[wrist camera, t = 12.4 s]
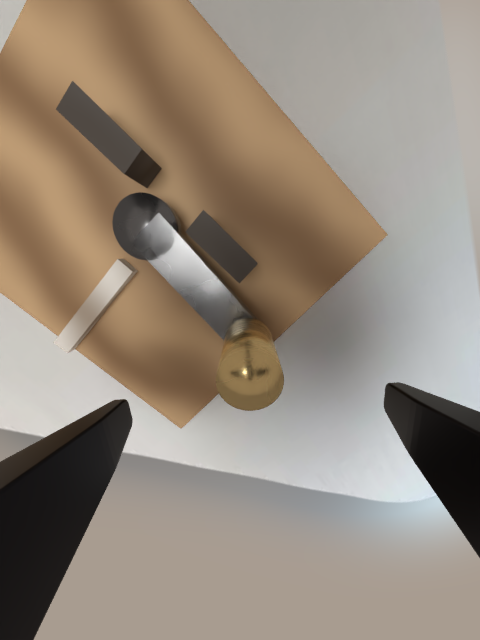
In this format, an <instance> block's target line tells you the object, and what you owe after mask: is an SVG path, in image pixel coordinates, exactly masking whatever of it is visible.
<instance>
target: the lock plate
mask: <svg viewBox="0 0 480 640" xmlns="http://www.w3.org/2000/svg"><path fill="white" fill-rule="evenodd" d="M138 192H143V193H149V194H152V195H154V196H156V197H158V198H160V199H161V200H163V201H165V202H166V203H168V204H169V205H170V206H171V207H172V208H173V209H174V211H175V212H176V214H177V215H178V218H179V220H180V224H181V233H182V234H183V235H184V236H185V238H186V239H187V240H188V241H189V242H190V243H191V244H192V245H193V247H194V248H195V249H196V250H197V251H198V252H199V253H200V254H201V256H202V257H203V258H204V259H205V260H206V261H207V262H208V263H209V265H210V266H211V267H212V268H213V269H214V270H215V271H216V272H217V274H218V275H219V276H220V277H221V278H222V279H223V280H224V281H225V283H226V284H227V285H228V286H229V287H230V288H231V289H232V290H233V292H234V293H235V294H236V295H237V296H238V297H239V298H240V299H241V301H242V302H243V303H244V304H245V305H246V306H247V307H248V308H249V310H250V311H251V312H252V313H253V314H254V315H255V316H256V317H257V319H258V320H260V321H261V322H263V323H264V324H265V325H266V326H267V327H268V328H269V330H270V332H271V336H272V339H273V342H274V341H275V340H276V339H277V338H278V337H279V336H280V335H281V334H282V333H284V332H285V331H286V330H287V329H288V328H289V327H290V326H291V325H292V324H293V323H294V322H295V321H296V320H297V319H298V318H300V317H301V316H302V315H303V314H304V313H305V312H306V311H307V310H308V309H309V308H310V307H311V306H312V305H313V304H314V303H315V302H317V301H318V300H319V299H320V298H321V297H322V296H323V295H324V294H325V293H326V292H327V291H328V290H329V289H330V288H331V287H333V286H334V285H335V284H336V283H337V282H338V281H339V280H340V279H341V278H342V277H343V276H344V275H345V274H346V273H347V272H348V271H350V270H351V269H352V268H353V267H354V266H355V265H356V264H357V263H358V262H359V261H360V260H361V259H362V258H363V257H364V256H365V255H367V254H368V253H369V252H370V251H371V250H372V249H373V248H374V247H375V246H376V245H377V244H378V243H379V242H380V241H381V240H383V239H384V238H385V237H386V236H387V233H386V232H385V231H384V230H383V229H382V228H381V226H380V225H379V224H378V223H377V222H376V220H375V219H374V218H373V217H372V216H371V215H370V213H369V212H368V211H367V210H366V209H365V207H364V206H363V205H362V204H361V203H360V202H359V200H358V199H357V198H356V197H355V196H354V195H353V193H352V192H351V191H350V190H349V189H348V187H347V186H346V185H345V184H344V183H343V182H342V180H341V179H340V178H339V177H338V176H337V175H336V173H335V172H334V171H333V170H332V169H331V167H330V166H329V165H328V164H327V163H326V162H325V160H324V159H323V158H322V157H321V156H320V155H319V153H318V152H317V151H316V150H315V149H314V147H313V146H312V145H311V144H310V143H309V142H308V140H307V139H306V138H305V137H304V136H303V135H302V133H301V132H300V131H299V130H298V129H297V127H296V126H295V125H294V124H293V123H292V122H291V120H290V119H289V118H288V117H287V116H286V114H285V113H284V112H283V111H282V110H281V109H280V107H279V106H278V105H277V104H276V103H275V102H274V100H273V99H272V98H271V97H270V96H269V94H268V93H267V92H266V91H265V90H264V89H263V87H262V86H261V85H260V84H259V83H258V82H257V80H256V79H255V78H254V77H253V76H252V74H251V73H250V72H249V71H248V70H247V69H246V67H245V66H244V65H243V64H242V63H241V62H240V60H239V59H238V58H237V57H236V56H235V54H234V53H233V52H232V51H231V50H230V49H229V47H228V46H227V45H226V44H225V43H224V41H223V40H222V39H221V38H220V37H219V36H218V34H217V33H216V32H215V31H214V30H213V29H212V27H211V26H210V25H209V24H208V23H207V21H206V20H205V19H204V18H203V17H202V16H201V14H200V13H199V12H198V11H197V10H196V9H195V7H194V6H193V5H192V4H191V3H190V1H189V0H27V1H26V3H25V5H24V7H23V9H22V11H21V13H20V15H19V17H18V19H17V21H16V23H15V25H14V27H13V29H12V31H11V33H10V35H9V37H8V39H7V41H6V43H5V45H4V47H3V49H2V51H1V53H0V293H2V294H3V295H4V296H6V297H7V298H8V299H10V300H11V301H12V302H14V303H15V304H16V305H18V306H19V307H20V308H22V309H23V310H24V311H26V312H27V313H28V314H29V315H31V316H32V317H33V318H35V319H36V320H37V321H39V322H40V323H41V324H43V325H44V326H45V327H47V328H48V329H49V330H51V331H52V332H53V333H55V334H56V335H57V336H58V337H57V338H56V340H55V341H54V342H53V343H55V344H56V345H57V346H59V347H60V348H61V349H63V350H64V351H65V352H67V353H69V352H71V351H72V350H74V349H76V350H77V351H79V352H80V353H81V354H83V355H84V356H85V357H87V358H88V359H89V360H91V361H92V362H93V363H95V364H96V365H97V366H98V367H100V368H101V369H102V370H104V371H105V372H106V373H108V374H109V375H110V376H112V377H113V378H114V379H116V380H117V381H118V382H120V383H121V384H122V385H124V386H125V387H126V388H128V389H129V390H130V391H132V392H133V393H134V394H136V395H137V396H138V397H140V398H141V399H142V400H144V401H145V402H146V403H148V404H149V405H150V406H152V407H153V408H154V409H156V410H157V411H158V412H160V413H161V414H162V415H164V416H165V417H166V418H167V419H169V420H170V421H171V422H173V423H174V424H175V425H177V426H178V427H179V428H182V427H184V426H185V425H186V424H187V423H188V422H189V421H190V420H191V419H192V418H193V417H194V416H195V415H196V414H197V413H198V412H199V411H201V410H202V409H203V408H204V407H205V406H206V405H207V404H208V403H209V402H210V401H211V400H212V399H213V398H214V397H215V396H217V395H218V394H219V392H218V390H217V386H216V375H217V370H218V366H219V361H220V357H221V353H222V348H223V344H224V340H223V339H222V338H221V337H220V336H219V335H218V334H217V333H216V332H215V331H214V330H213V329H212V328H211V327H210V326H209V325H208V323H207V322H206V321H205V320H204V319H203V318H202V317H201V316H200V315H199V314H198V313H197V312H196V311H195V310H194V309H193V308H192V307H191V306H190V305H189V304H188V302H187V301H186V300H185V299H184V298H183V297H182V296H181V295H180V294H179V293H178V292H177V291H176V290H175V289H174V288H173V287H172V286H171V285H170V284H169V283H168V281H167V280H166V279H165V278H164V277H163V276H162V275H161V274H160V273H159V272H158V271H157V270H156V269H155V268H154V267H153V266H152V265H151V264H150V263H149V262H148V260H140V259H137V258H135V257H133V256H131V255H129V254H128V253H127V252H126V251H124V250H123V248H122V247H121V246H120V245H119V243H118V241H117V240H116V237H115V235H114V231H113V224H112V221H113V214H114V211H115V208H116V207H117V205H118V204H119V202H120V201H121V200H122V199H123V198H125V197H126V196H128V195H130V194H133V193H138Z"/></svg>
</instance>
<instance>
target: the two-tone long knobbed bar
mask: <svg viewBox="0 0 480 640" xmlns="http://www.w3.org/2000/svg"><path fill="white" fill-rule="evenodd" d="M112 224H113V231H114V235H115V237H116V240H117V241H118V243H119V245H120V246H121V247H122V248H123V250H124V251H126V252H127V253H128V254H129V255H131V256H133V257H135V258H137V259H140V260H148V262H149V263H150V264H151V265H152V266H153V267H154V268H155V269H156V270H157V271H158V272H159V273H160V274H161V275H162V276H163V277H164V278H165V279H166V280H167V281H168V283H169V284H170V285H171V286H172V287H173V288H174V289H175V290H176V291H177V292H178V293H179V294H180V295H181V296H182V297H183V298H184V299H185V300H186V301H187V302H188V304H189V305H190V306H191V307H192V308H193V309H194V310H195V311H196V312H197V313H198V314H199V315H200V316H201V317H202V318H203V319H204V320H205V321H206V322H207V323H208V325H209V326H210V327H211V328H212V329H213V330H214V331H215V332H216V333H217V334H218V335H219V336H220V337H221V338H222V339H223V340H224V344H223V348H222V353H221V357H220V361H219V366H218V370H217V375H216V386H217V390H218V392H219V394H220V396H221V397H222V398H223V399H224V401H226V402H227V403H228V404H229V405H231V406H233V407H235V408H237V409H241V410H247V411H253V410H259V409H262V408H265V407H267V406H269V405H270V404H272V403H273V402H274V401H275V400H276V399H277V398H278V397H279V395H280V394H281V392H282V389H283V385H284V376H283V372H282V369H281V365H280V362H279V359H278V355H277V352H276V349H275V345H274V342H273V339H272V336H271V332H270V330H269V328H268V327H267V326H266V325H265V324H264V323H263V322H261V321H260V320H258V319H257V317H256V316H255V315H254V314H253V313H252V312H251V311H250V310H249V308H248V307H247V306H246V305H245V304H244V303H243V302H242V301H241V299H240V298H239V297H238V296H237V295H236V294H235V293H234V292H233V290H232V289H231V288H230V287H229V286H228V285H227V284H226V283H225V281H224V280H223V279H222V278H221V277H220V276H219V275H218V274H217V272H216V271H215V270H214V269H213V268H212V267H211V266H210V265H209V263H208V262H207V261H206V260H205V259H204V258H203V257H202V256H201V254H200V253H199V252H198V251H197V250H196V249H195V248H194V247H193V245H192V244H191V243H190V242H189V241H188V240H187V239H186V238H185V236H184V235H183V234H182V233H181V224H180V220H179V218H178V215H177V214H176V212H175V211H174V209H173V208H172V207H171V206H170V205H169V204H168V203H166V202H165V201H163V200H161V199H160V198H158V197H156V196H154V195H152V194H149V193H143V192H138V193H133V194H130V195H128V196H126V197H125V198H123V199H122V200H121V201H120V202H119V204H118V205H117V207H116V208H115V211H114V214H113V221H112Z"/></svg>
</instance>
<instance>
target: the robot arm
mask: <svg viewBox="0 0 480 640" xmlns="http://www.w3.org/2000/svg"><path fill="white" fill-rule="evenodd" d="M384 409H385V411H386V413H387V415H388V417H389V419H390V421H391V422H392V424H393V426H394V428H395V430H396V432H397V433H398V435H399V437H400V439H401V441H402V442H403V444H404V446H405V448H406V449H407V451H408V453H409V455H410V456H411V458H412V459H413V461H414V462H415V464H416V465H417V467H418V468H419V470H420V471H421V472H422V474H423V475H424V477H425V478H426V480H427V481H428V483H429V484H430V486H431V487H432V489H433V490H434V492H435V493H436V494H437V496H438V497H439V499H440V500H441V502H442V503H443V505H444V506H445V508H446V509H447V510H448V512H449V514H450V515H451V516H452V518H453V519H454V521H455V522H456V524H457V525H458V527H459V528H460V530H461V531H462V533H463V534H464V536H465V537H466V538H467V540H468V541H469V543H470V544H471V546H472V547H473V549H474V550H475V552H476V553H477V555H478V556H479V557H480V412H478V411H476V410H473V409H470V408H468V407H465V406H462V405H460V404H457V403H454V402H452V401H449V400H446V399H444V398H441V397H438V396H435V395H433V394H430V393H427V392H425V391H422V390H419V389H417V388H414V387H411V386H409V385H406V384H403V383H399V382H397V383H388V384H387V385H386V388H385V397H384ZM131 427H132V415H131V411H130V407H129V403H128V401H127V400H125V399H122V400H114V401H112V402H110V403H108V404H106V405H104V406H102V407H101V408H99V409H97V410H95V411H93V412H91V413H89V414H88V415H86V416H84V417H82V418H80V419H78V420H77V421H75V422H73V423H71V424H69V425H67V426H65V427H64V428H62V429H60V430H58V431H56V432H54V433H53V434H51V435H49V436H47V437H45V438H43V439H41V440H40V441H38V442H36V443H34V444H32V445H30V446H28V447H27V448H25V449H23V450H21V451H19V452H17V453H16V454H14V455H12V456H10V457H8V458H6V459H5V460H3V461H1V462H0V640H34V637H35V635H36V633H37V631H38V629H39V627H40V625H41V623H42V621H43V619H44V617H45V615H46V613H47V610H48V608H49V606H50V604H51V602H52V600H53V598H54V596H55V594H56V592H57V590H58V587H59V586H60V583H61V581H62V579H63V577H64V575H65V573H66V571H67V569H68V567H69V565H70V563H71V561H72V559H73V556H74V555H75V552H76V550H77V548H78V546H79V544H80V542H81V540H82V538H83V536H84V534H85V532H86V530H87V528H88V526H89V523H90V521H91V519H92V517H93V515H94V513H95V511H96V509H97V507H98V505H99V503H100V501H101V499H102V496H103V494H104V492H105V490H106V488H107V486H108V484H109V482H110V480H111V478H112V475H113V473H114V471H115V469H116V466H117V464H118V462H119V459H120V456H121V454H122V451H123V448H124V446H125V443H126V440H127V438H128V435H129V432H130V429H131Z"/></svg>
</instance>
